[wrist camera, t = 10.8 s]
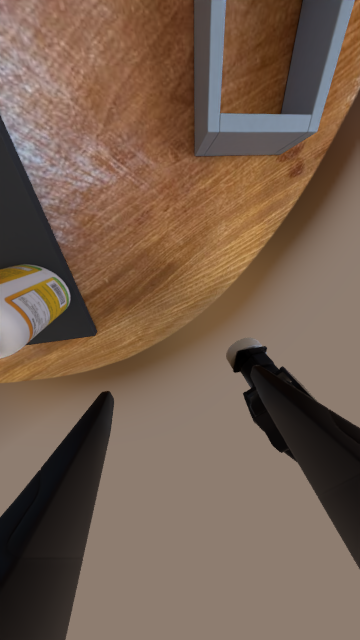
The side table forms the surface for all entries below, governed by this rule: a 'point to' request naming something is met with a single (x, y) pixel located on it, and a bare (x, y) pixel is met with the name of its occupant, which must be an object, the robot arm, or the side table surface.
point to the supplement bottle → (28, 304)
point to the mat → (35, 243)
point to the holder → (301, 91)
